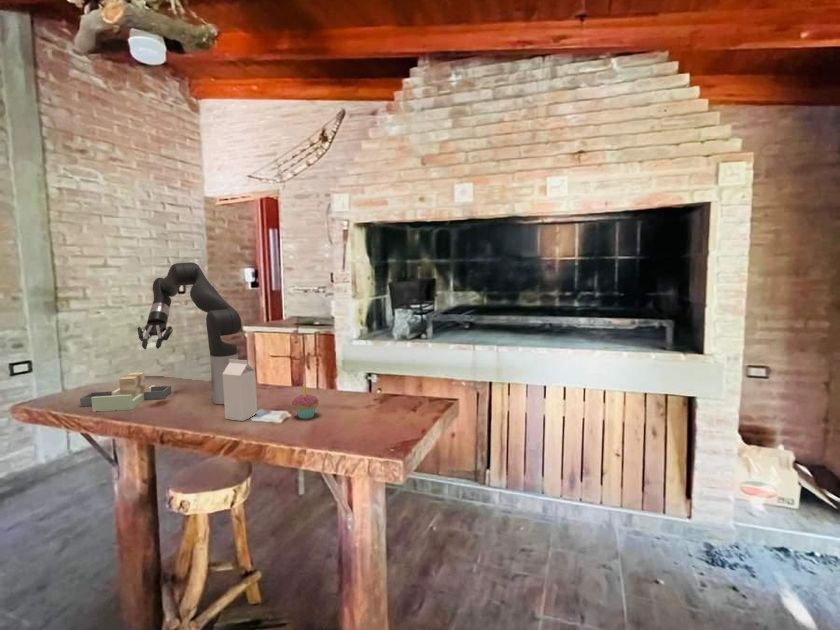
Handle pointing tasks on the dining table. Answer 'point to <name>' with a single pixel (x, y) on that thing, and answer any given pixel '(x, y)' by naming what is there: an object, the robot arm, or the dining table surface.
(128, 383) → the beech block
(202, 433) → the dining table surface
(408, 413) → the dining table surface
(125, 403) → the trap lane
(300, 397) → the cupcake
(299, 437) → the dining table surface
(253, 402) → the milk carton
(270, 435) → the dining table surface
